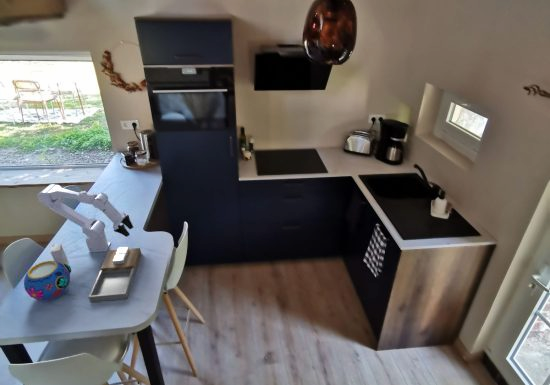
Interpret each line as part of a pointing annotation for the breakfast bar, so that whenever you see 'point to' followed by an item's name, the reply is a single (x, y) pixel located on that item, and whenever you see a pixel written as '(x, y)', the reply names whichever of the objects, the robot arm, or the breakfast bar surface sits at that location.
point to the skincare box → (59, 254)
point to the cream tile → (122, 250)
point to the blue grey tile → (119, 258)
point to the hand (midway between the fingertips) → (130, 231)
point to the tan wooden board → (129, 263)
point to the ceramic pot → (47, 280)
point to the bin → (112, 285)
